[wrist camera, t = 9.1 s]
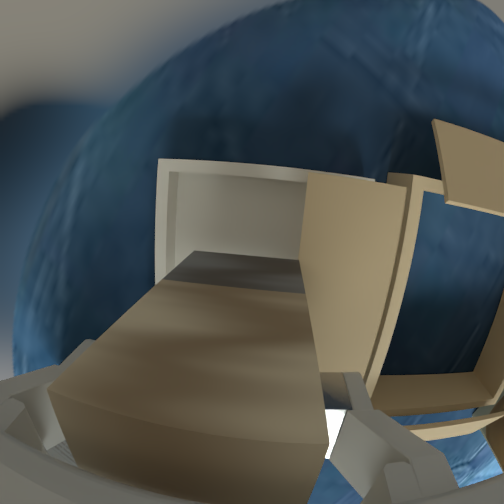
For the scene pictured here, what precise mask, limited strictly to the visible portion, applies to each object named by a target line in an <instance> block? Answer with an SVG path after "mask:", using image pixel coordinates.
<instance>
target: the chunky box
mask: <svg viewBox="0 0 504 504" xmlns="http://www.w3.org/2000/svg"><path fill="white" fill-rule="evenodd" d="M47 392H48V395H49V398H50V401H51V404H52V407H53V409H54V412H55V415H56V417H57V420H58V423H59V425H60V428H61V430H62V433H63V435H64V437H65V440H66V442H67V444H68V447H69V449H70V451H71V453H72V455H73V458H74V460H75V462H76V464H77V466H78V468H80V469H83V470H85V471H88V472H90V473H93V474H96V475H99V476H101V477H104V478H107V479H110V480H113V481H116V482H119V483H122V484H126V485H129V486H132V487H136V488H139V489H143V490H146V491H150V492H154V493H158V494H162V495H167V496H171V497H176V498H180V499H185V500H190V501H196V502H202V503H208V504H307V502H308V500H309V497H310V495H311V493H312V490H313V488H314V485H315V483H316V480H317V478H318V475H319V473H320V470H321V468H322V465H323V462H324V460H325V457H326V454H327V451H328V449H329V446H330V439H329V432H328V425H327V418H326V411H325V404H324V398H323V391H322V385H321V379H320V372H319V366H318V360H317V354H316V348H315V343H314V337H313V331H312V326H311V320H310V315H309V309H308V304H307V298H306V293H305V288H304V283H303V278H302V273H301V268H300V263H299V260H293V259H282V258H271V257H260V256H249V255H239V254H228V253H217V252H206V251H195V250H194V251H193V252H192V253H191V254H190V255H189V256H187V257H186V258H185V259H184V260H183V261H182V262H181V263H180V264H178V265H177V266H176V267H175V268H174V269H173V270H172V271H171V272H169V273H168V274H167V275H166V276H165V277H164V278H163V279H162V280H161V281H159V282H158V283H157V284H156V285H155V286H154V287H153V288H152V289H151V290H150V291H148V292H147V293H146V294H145V295H144V296H143V297H142V298H141V299H140V300H139V301H137V302H136V303H135V304H134V305H133V306H132V307H131V308H130V309H129V310H128V311H127V312H126V313H124V314H123V315H122V316H121V317H120V318H119V319H118V320H117V321H116V322H115V323H114V324H113V325H112V326H111V327H110V328H108V329H107V330H106V331H105V332H104V333H103V334H102V335H101V336H100V337H99V338H98V339H97V340H96V341H95V342H94V343H93V344H92V345H91V346H90V347H88V348H87V349H86V350H85V351H84V352H83V353H82V354H81V355H80V356H79V357H78V358H77V359H76V360H75V361H74V362H73V363H72V364H71V365H70V366H69V367H68V368H67V369H66V370H65V371H64V372H63V373H62V374H61V375H60V376H59V377H58V378H57V379H56V380H55V381H54V382H53V383H52V384H51V385H50V386H49V387H48V388H47Z"/></svg>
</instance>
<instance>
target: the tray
mask: <svg viewBox="0 0 504 504" xmlns="http://www.w3.org/2000/svg"><path fill="white" fill-rule="evenodd" d="M308 172H312V173H320V174H327V175H335V176H342V177H348V178H355V179H361V180H367V181H373V182H375V179H370V178H364V177H358V176H351V175H345V174H338V173H330V172H323V171H315V170H307V169H299V168H290V167H280V166H270V165H260V164H248V163H236V162H222V161H205V160H185V159H158V171H157V190H156V218H155V285H156V284H157V283H158V282H159V281H161V280H162V279H163V278H164V277H165V276H166V275H167V274H168V273H169V272H171V271H172V270H173V269H174V268H175V267H176V266H177V265H178V264H180V263H181V262H182V261H183V260H184V259H185V258H186V257H187V256H189V255H190V254H191V253H192V252H193V251H194V250H195V251H206V252H217V253H228V254H239V255H249V256H260V257H271V258H282V259H293V260H298V256H299V248H300V240H301V232H302V224H303V216H304V207H305V198H306V189H307V180H308Z"/></svg>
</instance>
